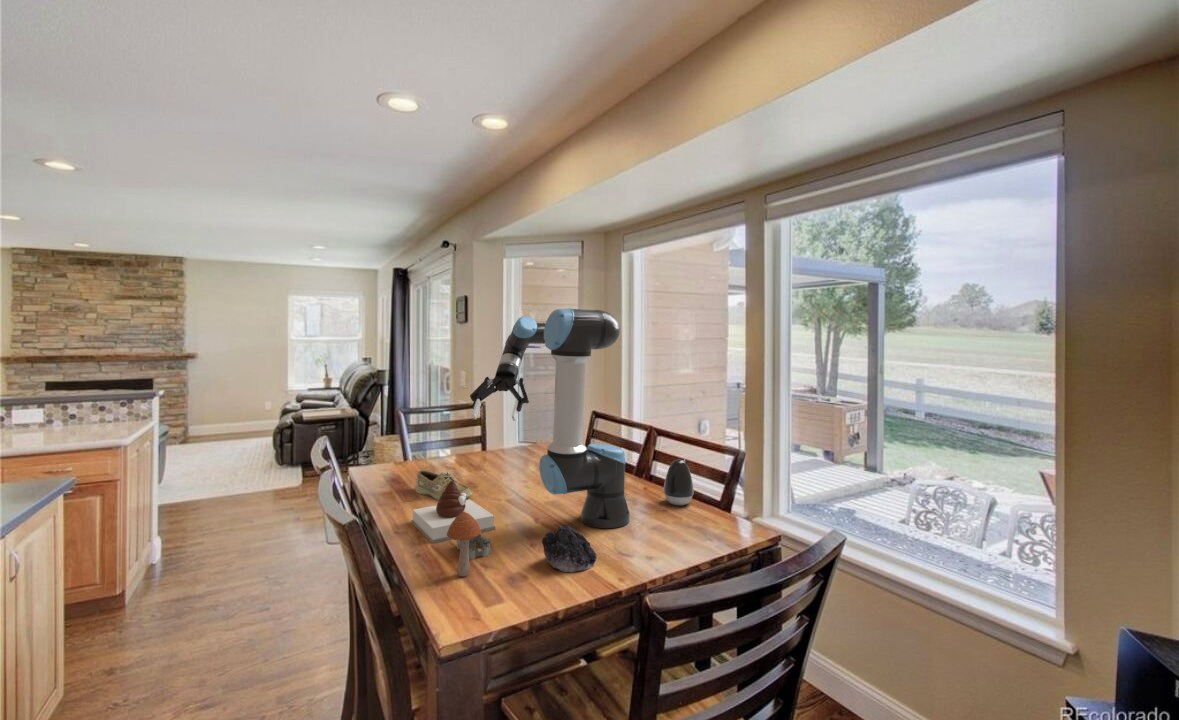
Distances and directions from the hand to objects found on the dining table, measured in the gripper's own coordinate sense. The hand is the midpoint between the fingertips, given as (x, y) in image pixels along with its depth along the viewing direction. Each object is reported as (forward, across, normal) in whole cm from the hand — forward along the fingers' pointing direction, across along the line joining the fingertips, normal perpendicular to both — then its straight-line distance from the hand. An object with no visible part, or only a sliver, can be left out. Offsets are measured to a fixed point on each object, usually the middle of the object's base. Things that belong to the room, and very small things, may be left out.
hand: (493, 417), depth 168 cm
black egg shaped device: (+10, -61, -33) cm, 70 cm away
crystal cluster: (+46, -33, +4) cm, 57 cm away
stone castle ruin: (+46, -7, +3) cm, 46 cm away
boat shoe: (+16, +22, -27) cm, 38 cm away
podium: (+34, +6, -8) cm, 36 cm away
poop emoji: (+32, +6, -5) cm, 33 cm away
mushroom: (+54, -10, +12) cm, 57 cm away
